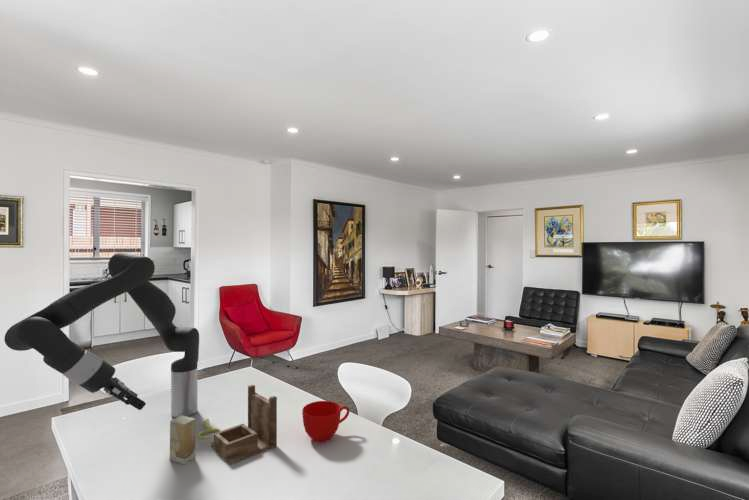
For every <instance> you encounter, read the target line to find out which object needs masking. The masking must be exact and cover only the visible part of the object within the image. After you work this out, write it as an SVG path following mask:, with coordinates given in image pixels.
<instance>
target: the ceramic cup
mask: <svg viewBox="0 0 749 500" xmlns="http://www.w3.org/2000/svg"><path fill="white" fill-rule="evenodd" d="M344 409H346V413H345V415H344V416H343V417H342V418H341V413H342V411H343V410H344ZM301 413H302V422H303V423H302V424H303V427H304V430H305V433H306V434H307V436H308V437H309V439H311V440H312V442H315V443H326V442H328V441H330V440H332V437H333V436H335V434H336V433H337V431H338V428H339V425H340V424H341V423H343V422H344V421H345V420H347V418H348V417H349V414H350V407H348V406H346V405H342V406H341V405H340V404H339V403H337V402H335V401H331V400H320V401H319V400H318V401H313V402H310V403H307V404H306V405H304V406H303V408H302V412H301Z"/></svg>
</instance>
